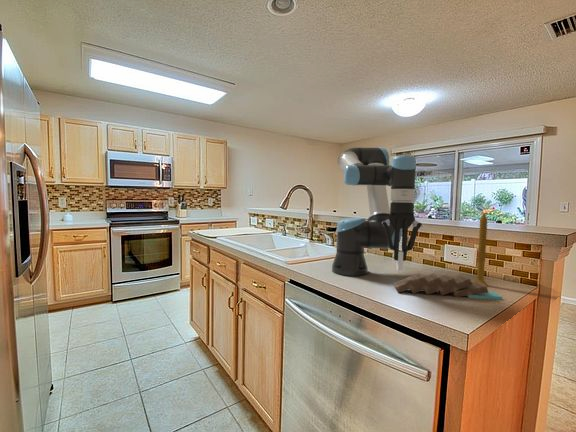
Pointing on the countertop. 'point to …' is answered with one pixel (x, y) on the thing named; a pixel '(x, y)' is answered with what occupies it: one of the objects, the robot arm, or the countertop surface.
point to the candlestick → (482, 250)
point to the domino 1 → (409, 282)
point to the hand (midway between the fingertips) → (399, 269)
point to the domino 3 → (441, 284)
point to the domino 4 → (461, 283)
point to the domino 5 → (471, 290)
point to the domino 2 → (427, 283)
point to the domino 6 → (486, 296)
